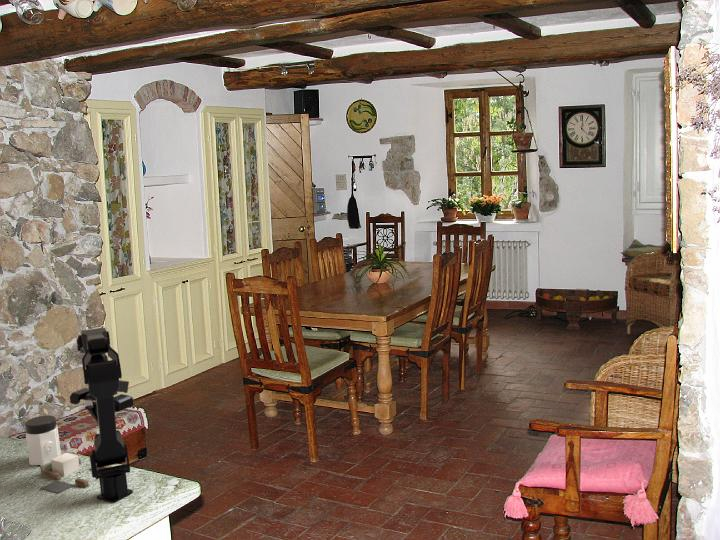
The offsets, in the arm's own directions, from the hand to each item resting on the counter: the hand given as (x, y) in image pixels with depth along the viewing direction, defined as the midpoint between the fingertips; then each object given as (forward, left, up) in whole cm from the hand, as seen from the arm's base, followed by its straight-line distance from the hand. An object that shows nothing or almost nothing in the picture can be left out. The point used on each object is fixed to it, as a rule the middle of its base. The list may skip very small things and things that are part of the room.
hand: (104, 429), depth 204 cm
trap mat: (+5, +13, -12) cm, 18 cm away
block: (+12, +5, -12) cm, 18 cm away
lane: (+7, +5, -12) cm, 15 cm away
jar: (+24, +2, -12) cm, 27 cm away
